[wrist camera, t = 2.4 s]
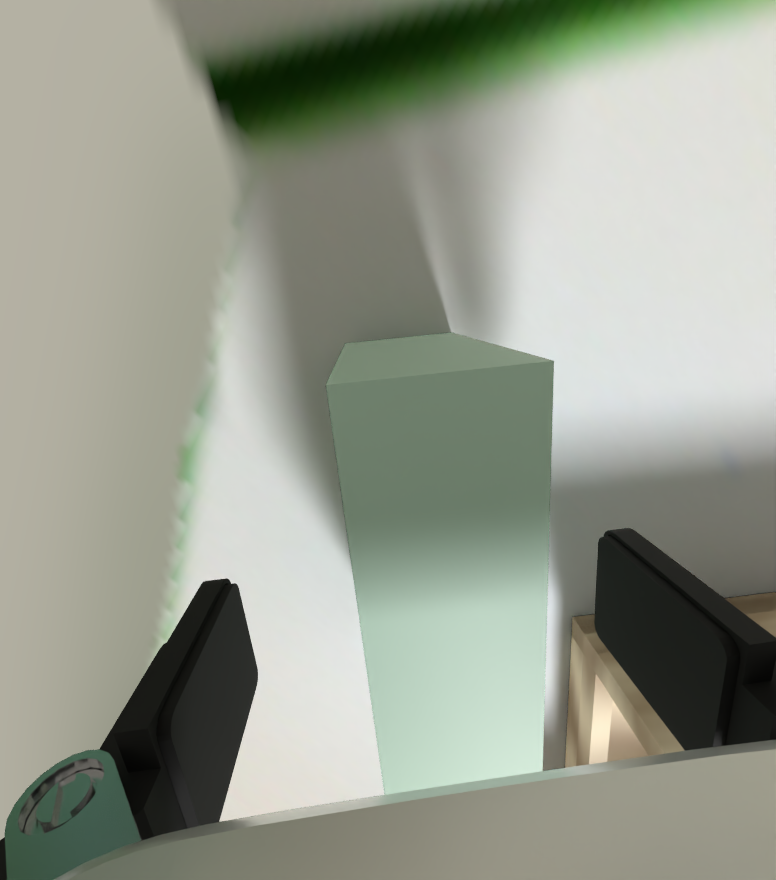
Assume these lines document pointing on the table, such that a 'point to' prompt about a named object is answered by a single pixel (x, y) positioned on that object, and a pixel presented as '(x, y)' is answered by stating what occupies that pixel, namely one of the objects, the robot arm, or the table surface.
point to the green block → (448, 549)
